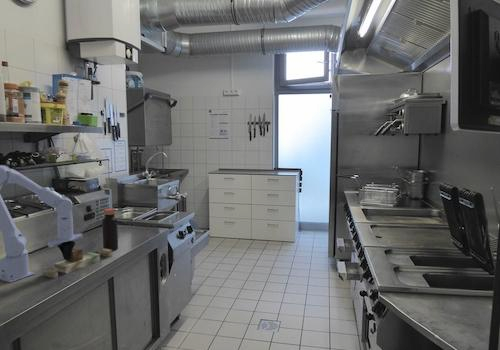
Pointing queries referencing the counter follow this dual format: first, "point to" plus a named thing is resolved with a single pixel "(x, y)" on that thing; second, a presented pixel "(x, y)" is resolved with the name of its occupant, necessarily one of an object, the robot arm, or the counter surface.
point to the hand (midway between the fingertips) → (66, 259)
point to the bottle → (110, 230)
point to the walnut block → (76, 255)
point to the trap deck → (76, 263)
